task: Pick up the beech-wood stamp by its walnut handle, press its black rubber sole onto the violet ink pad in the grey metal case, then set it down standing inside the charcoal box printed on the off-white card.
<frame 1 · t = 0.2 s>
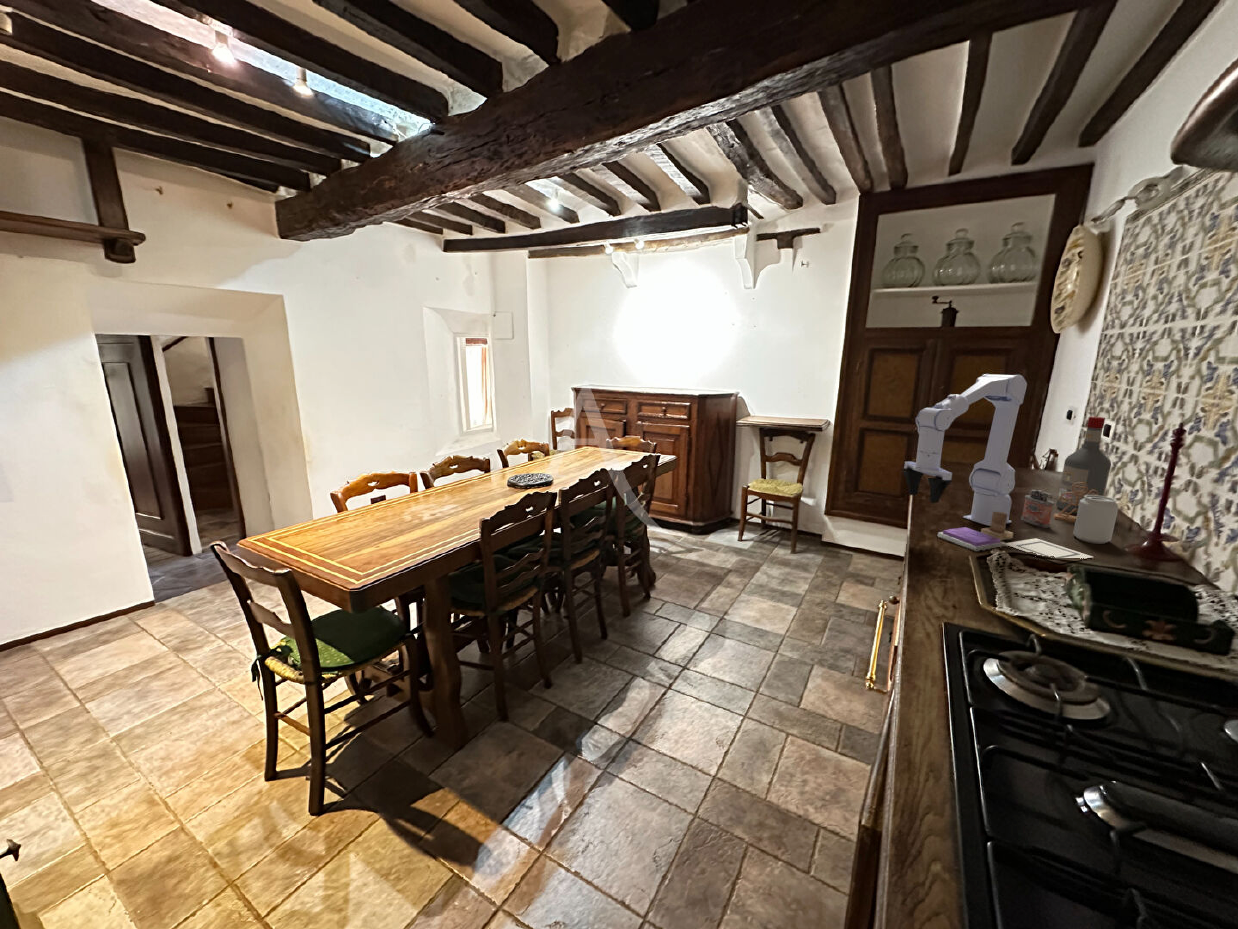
hand: (923, 498, 136), 10 cm above the kitchen counter, tool pointing down, fingers open, 7 cm apart
gingerbread man figurine: (1072, 521, 145), on the kitchen counter
can: (1090, 540, 131), on the kitchen counter
stamp: (995, 537, 133), on the kitchen counter
marked card: (1046, 551, 123), on the kitchen counter
lighter: (1034, 523, 144), on the kitchen counter
liquor: (1077, 511, 154), on the kitchen counter
ink pad: (969, 541, 130), on the kitchen counter
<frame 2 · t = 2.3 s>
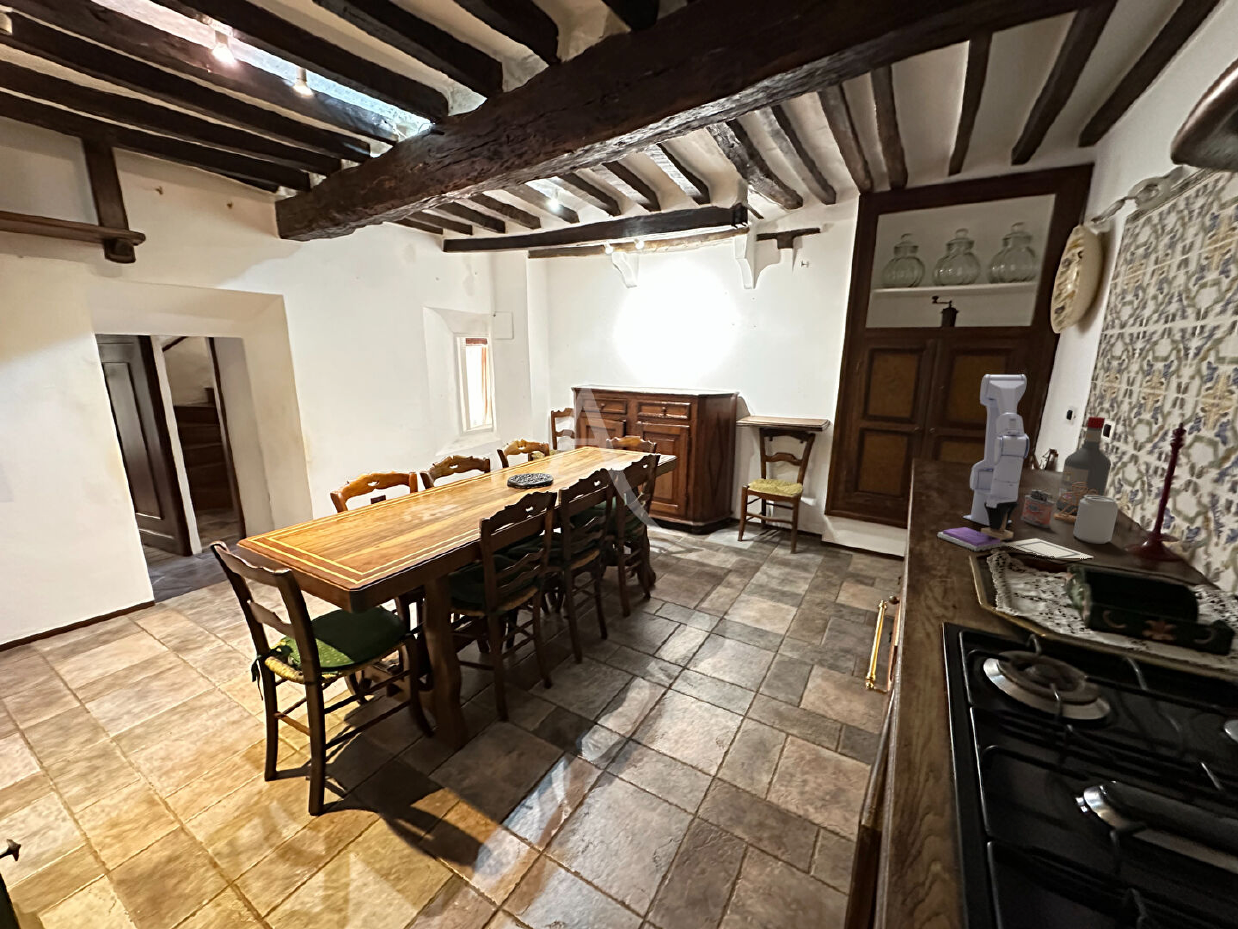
hand: (997, 527, 132), 3 cm above the kitchen counter, tool pointing down, fingers closed on stamp, 3 cm apart
stamp: (995, 537, 133), on the kitchen counter, touching gripper
everything else where it was.
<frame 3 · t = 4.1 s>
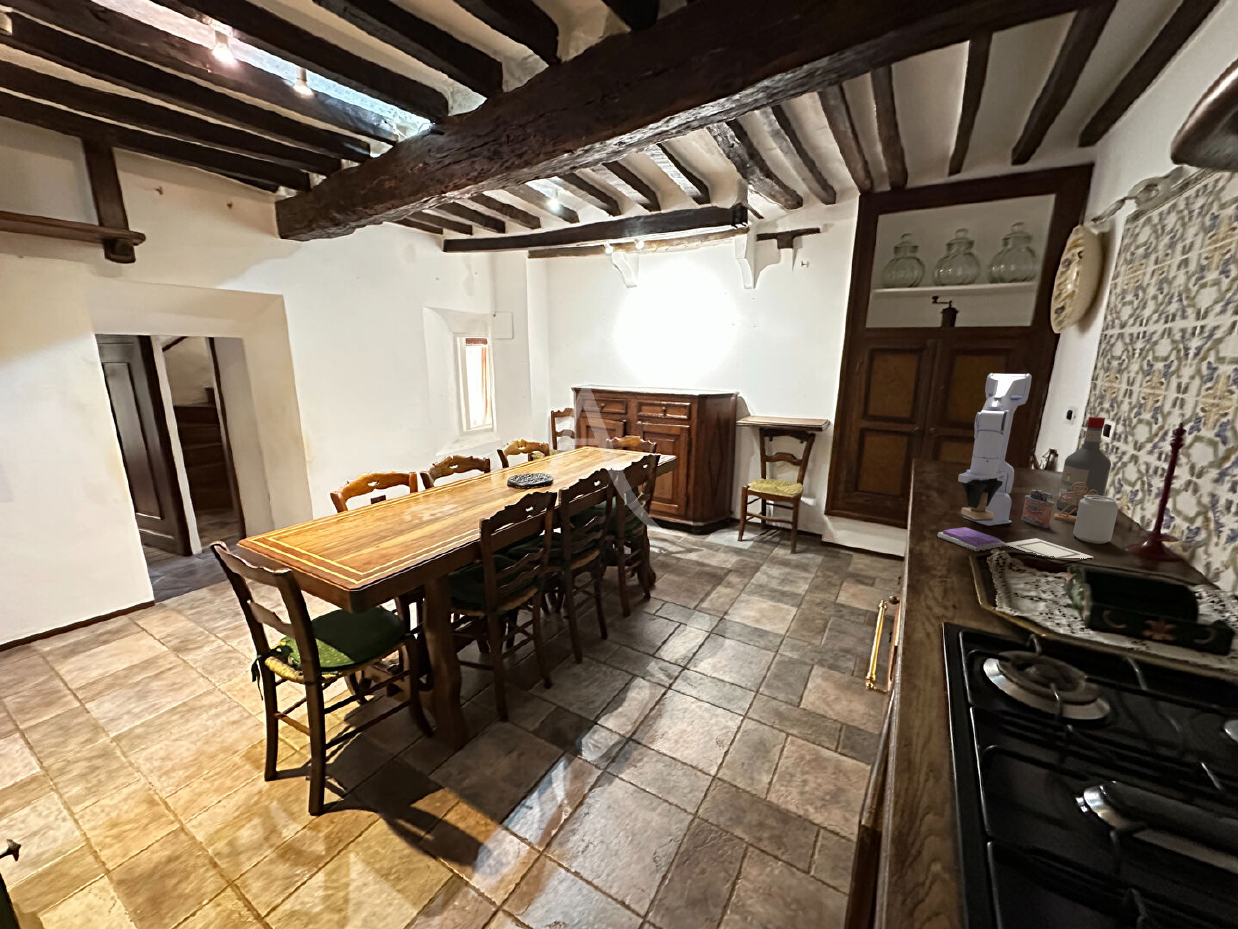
hand: (977, 506, 128), 10 cm above the kitchen counter, tool pointing down, fingers closed on stamp, 3 cm apart
stamp: (976, 517, 129), point 7 cm above the kitchen counter, touching gripper
everything else where it was.
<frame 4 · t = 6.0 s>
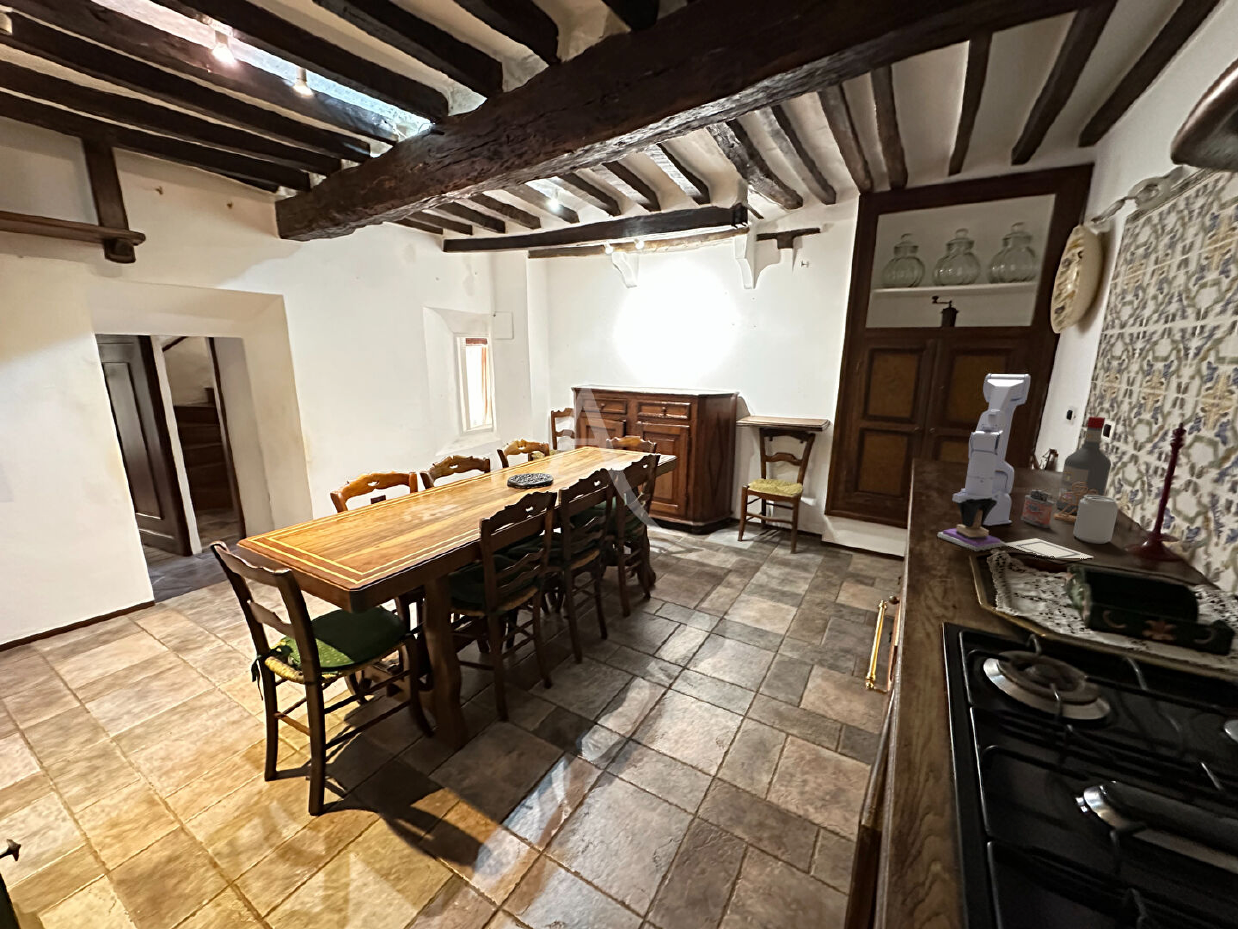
hand: (972, 525, 129), 5 cm above the kitchen counter, tool pointing down, fingers closed on stamp, 3 cm apart
stamp: (971, 534, 130), point 2 cm above the kitchen counter, touching gripper, ink pad
everything else where it was.
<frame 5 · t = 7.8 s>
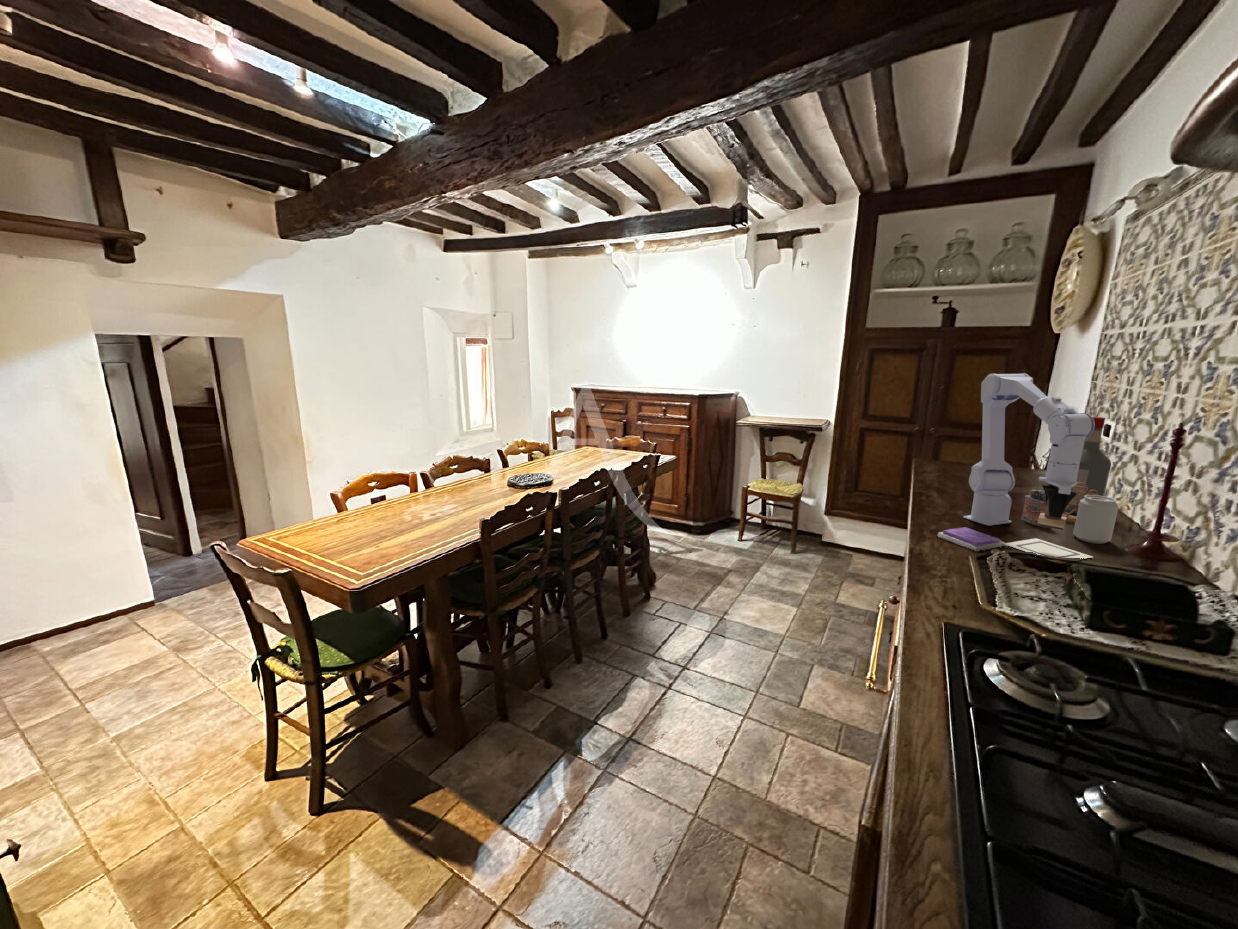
hand: (1053, 514, 121), 10 cm above the kitchen counter, tool pointing down, fingers closed on stamp, 3 cm apart
stamp: (1050, 525, 122), point 7 cm above the kitchen counter, touching gripper
everything else where it was.
when the fingers open (4 cm above the kitchen counter, at t = 9.6 s): stamp stays where it is, resting on marked card.
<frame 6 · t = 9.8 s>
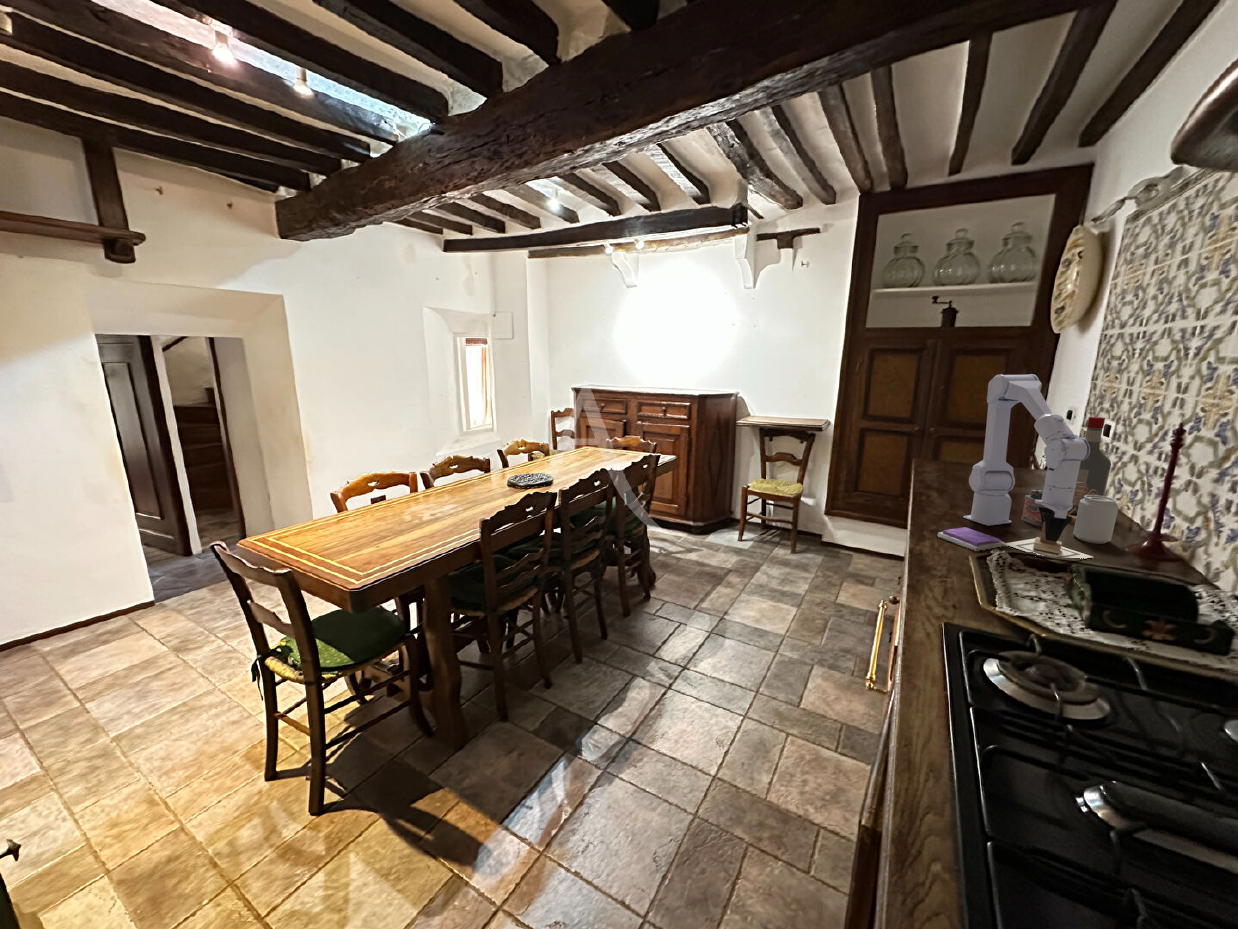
hand: (1049, 537, 123), 4 cm above the kitchen counter, tool pointing down, fingers open, 5 cm apart
stamp: (1046, 549, 123), resting on marked card
everything else where it was.
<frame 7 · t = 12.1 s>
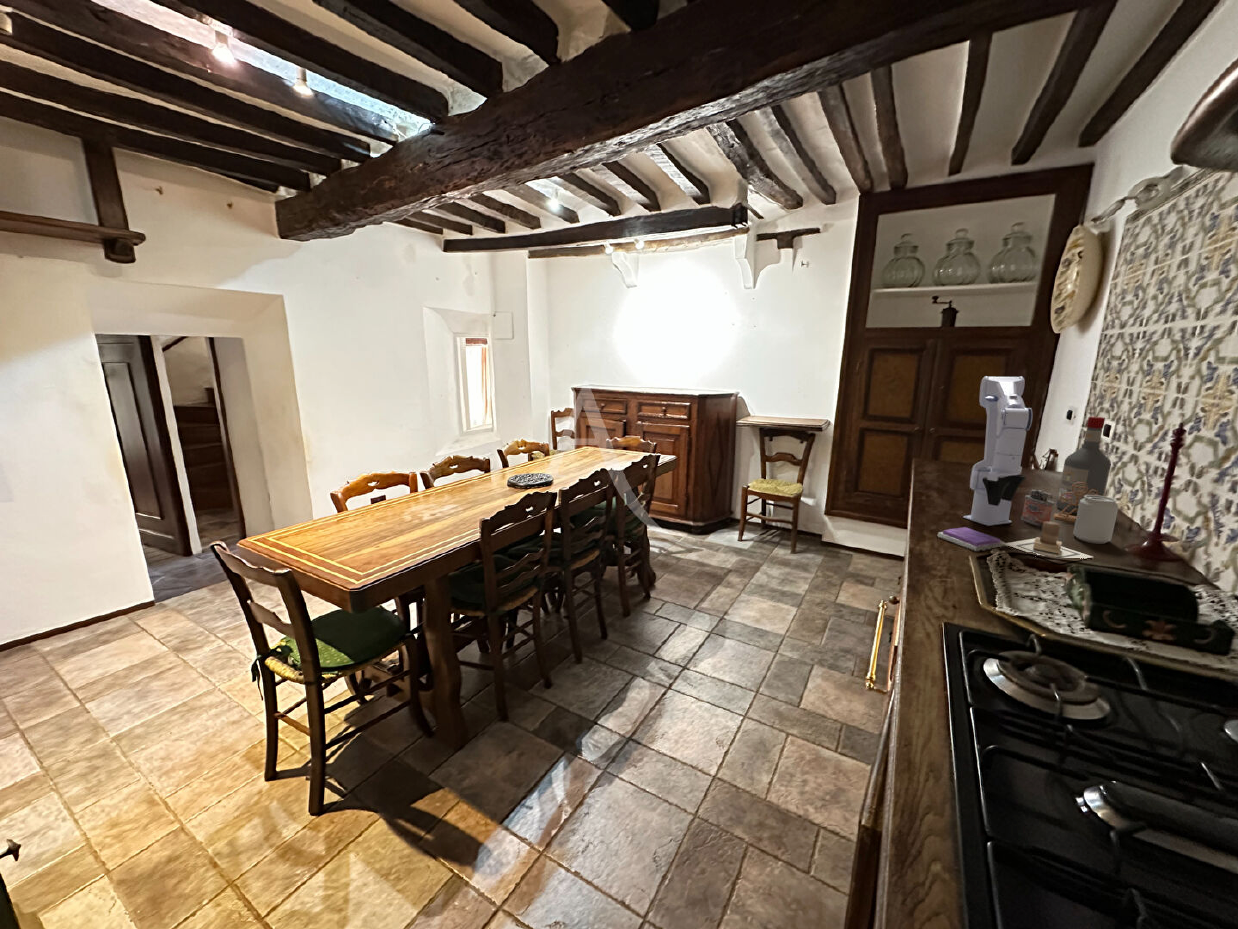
hand: (1000, 502, 130), 10 cm above the kitchen counter, tool pointing down, fingers open, 7 cm apart
nothing on the kitchen counter moved.
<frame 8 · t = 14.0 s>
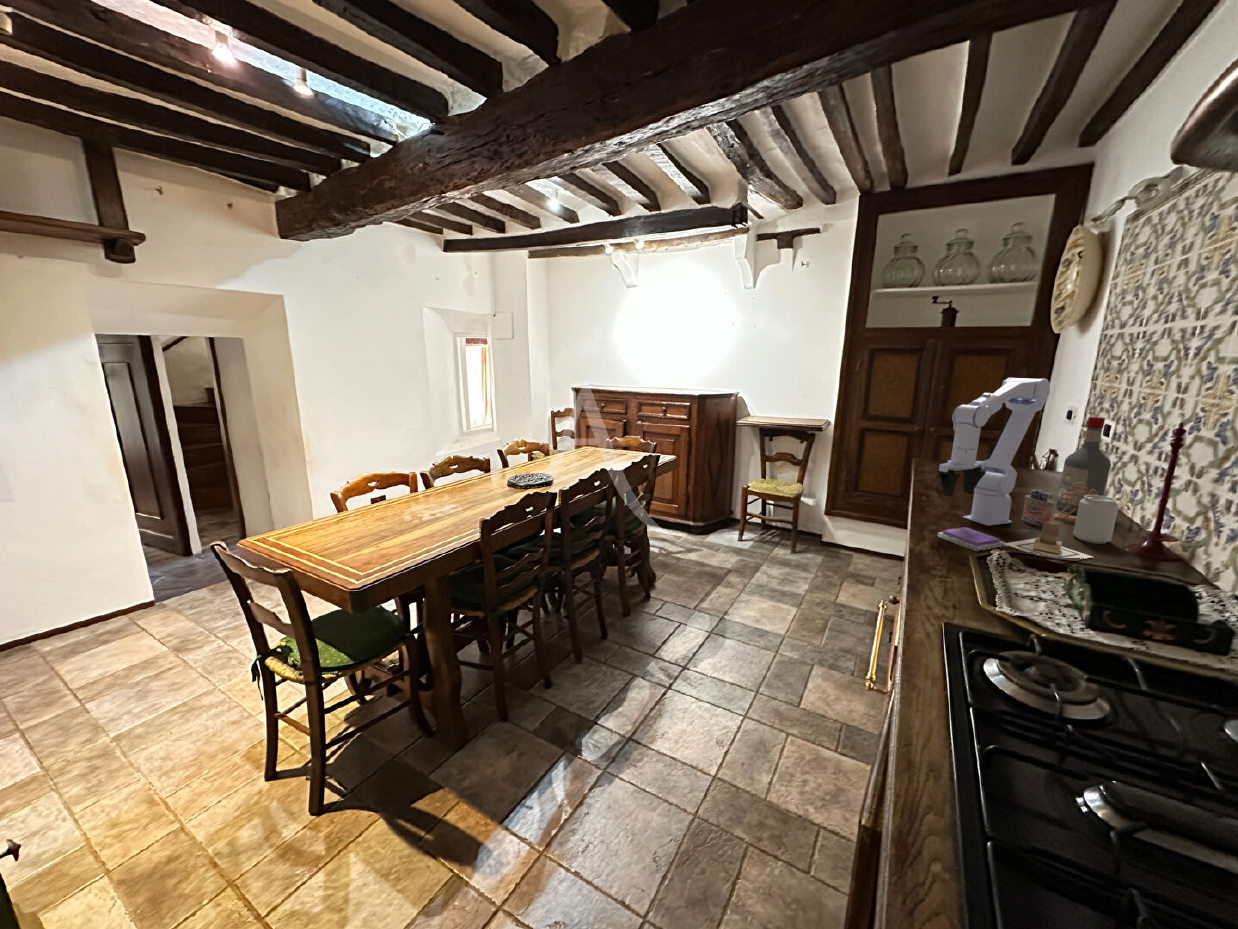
hand: (957, 494, 138), 10 cm above the kitchen counter, tool pointing down, fingers open, 7 cm apart
nothing on the kitchen counter moved.
at the end: stamp 0.1 cm off-centre on the marked card, point 0.4 cm above the marked card's base; stamp tilted 0°; the gripper is holding nothing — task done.
